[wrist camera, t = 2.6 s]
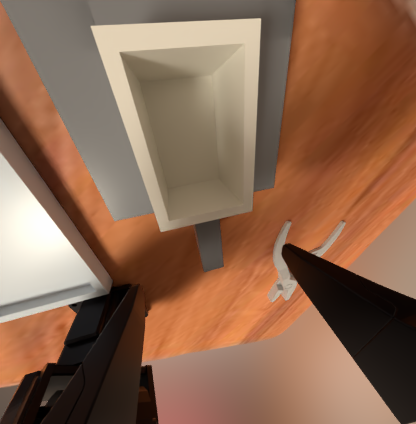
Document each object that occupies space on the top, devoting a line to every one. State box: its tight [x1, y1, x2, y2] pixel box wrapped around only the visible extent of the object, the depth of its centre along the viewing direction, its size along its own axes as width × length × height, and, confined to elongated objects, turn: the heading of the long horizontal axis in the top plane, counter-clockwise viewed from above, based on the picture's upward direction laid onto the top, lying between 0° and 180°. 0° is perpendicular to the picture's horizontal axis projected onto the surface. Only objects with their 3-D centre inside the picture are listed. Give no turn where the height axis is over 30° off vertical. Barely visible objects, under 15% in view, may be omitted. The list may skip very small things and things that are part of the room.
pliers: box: [267, 221, 346, 302], centre depth 23 cm, size 10×2×15 cm
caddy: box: [91, 18, 261, 272], centre depth 11 cm, size 13×6×6 cm, turn 7°
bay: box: [0, 0, 296, 221], centre depth 10 cm, size 11×12×2 cm
